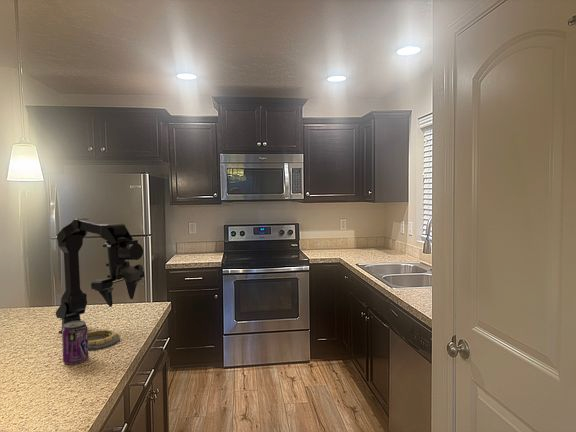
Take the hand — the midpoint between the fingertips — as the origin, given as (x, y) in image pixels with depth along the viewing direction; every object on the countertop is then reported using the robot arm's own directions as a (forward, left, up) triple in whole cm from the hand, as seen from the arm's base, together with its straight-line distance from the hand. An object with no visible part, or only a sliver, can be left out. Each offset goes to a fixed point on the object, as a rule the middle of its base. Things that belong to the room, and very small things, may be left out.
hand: (121, 302), depth 137 cm
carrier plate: (-9, -3, -14) cm, 17 cm away
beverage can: (-2, -17, -15) cm, 23 cm away
